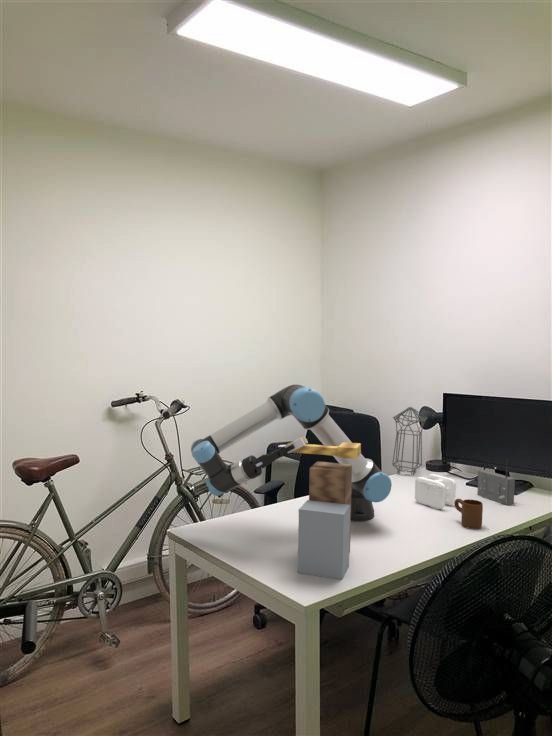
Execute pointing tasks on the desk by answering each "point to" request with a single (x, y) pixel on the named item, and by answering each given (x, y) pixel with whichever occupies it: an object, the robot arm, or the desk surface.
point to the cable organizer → (435, 491)
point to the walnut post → (331, 483)
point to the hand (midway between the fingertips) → (304, 440)
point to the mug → (470, 513)
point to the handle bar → (332, 450)
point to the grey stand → (323, 539)
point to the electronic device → (496, 486)
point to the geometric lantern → (408, 434)
